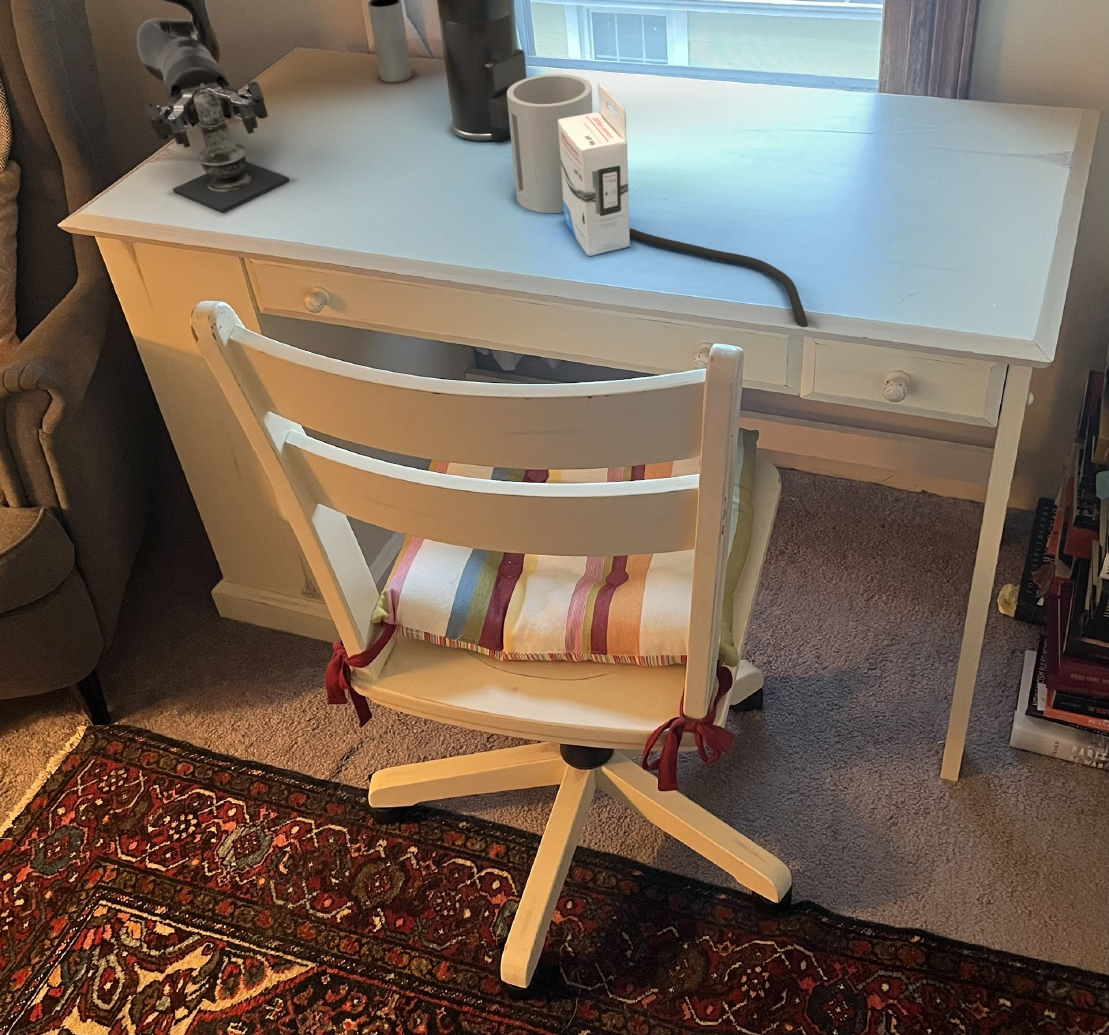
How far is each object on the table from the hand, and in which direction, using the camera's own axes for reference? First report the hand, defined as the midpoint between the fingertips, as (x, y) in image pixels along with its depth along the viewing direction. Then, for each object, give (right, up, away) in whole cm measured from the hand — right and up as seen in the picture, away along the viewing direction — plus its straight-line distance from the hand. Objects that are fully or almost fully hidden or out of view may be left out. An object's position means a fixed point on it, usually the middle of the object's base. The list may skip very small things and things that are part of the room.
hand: (217, 132), depth 126 cm
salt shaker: (-1, -4, +7) cm, 8 cm away
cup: (+39, -8, -1) cm, 40 cm away
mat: (0, -4, +7) cm, 8 cm away
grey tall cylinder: (+16, +19, +31) cm, 39 cm away
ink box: (+43, -14, -8) cm, 47 cm away
